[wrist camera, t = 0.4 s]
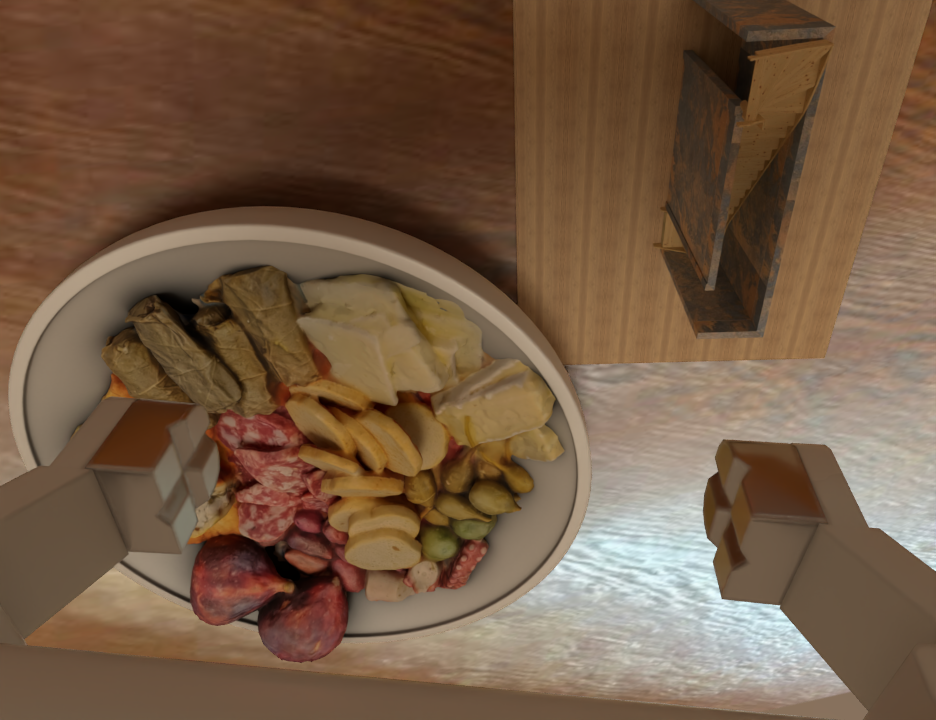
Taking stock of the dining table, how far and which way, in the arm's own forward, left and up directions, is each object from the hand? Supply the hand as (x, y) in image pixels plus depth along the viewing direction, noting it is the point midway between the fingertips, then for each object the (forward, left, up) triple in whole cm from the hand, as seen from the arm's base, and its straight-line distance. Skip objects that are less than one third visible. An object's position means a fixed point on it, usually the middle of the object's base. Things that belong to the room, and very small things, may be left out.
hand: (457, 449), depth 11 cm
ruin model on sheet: (-3, +10, -23) cm, 25 cm away
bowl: (+21, +2, -23) cm, 31 cm away
